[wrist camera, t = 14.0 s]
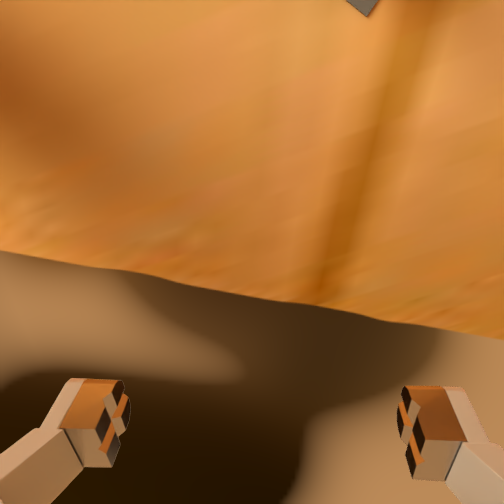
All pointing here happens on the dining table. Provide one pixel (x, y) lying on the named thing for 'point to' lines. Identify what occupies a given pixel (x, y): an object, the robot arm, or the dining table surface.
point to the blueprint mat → (363, 5)
